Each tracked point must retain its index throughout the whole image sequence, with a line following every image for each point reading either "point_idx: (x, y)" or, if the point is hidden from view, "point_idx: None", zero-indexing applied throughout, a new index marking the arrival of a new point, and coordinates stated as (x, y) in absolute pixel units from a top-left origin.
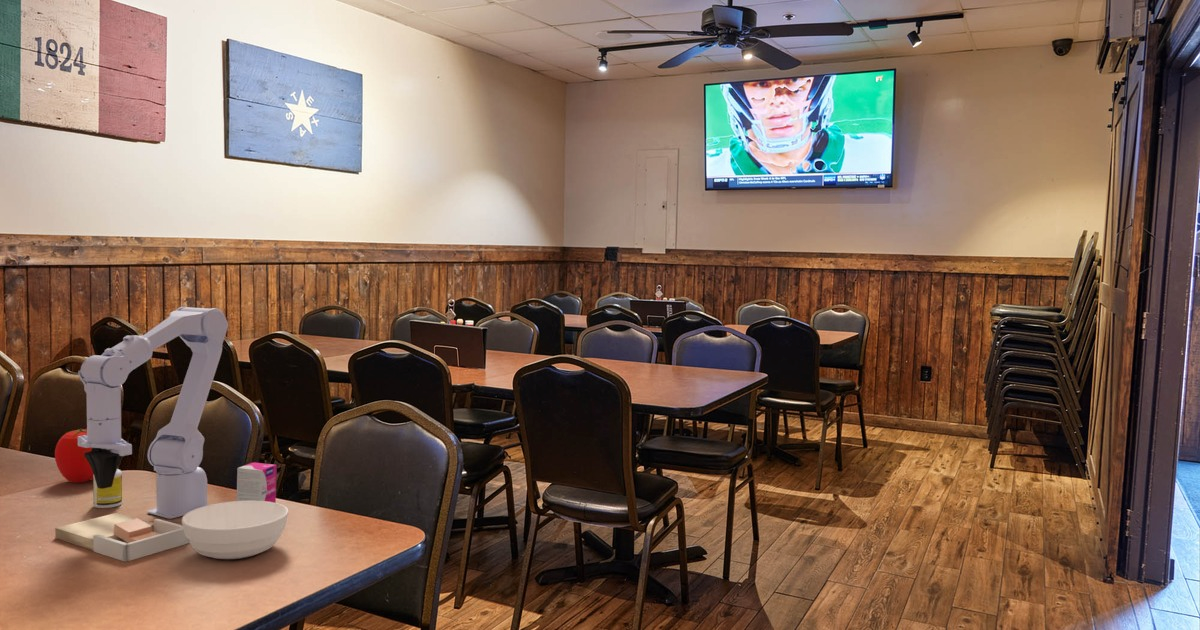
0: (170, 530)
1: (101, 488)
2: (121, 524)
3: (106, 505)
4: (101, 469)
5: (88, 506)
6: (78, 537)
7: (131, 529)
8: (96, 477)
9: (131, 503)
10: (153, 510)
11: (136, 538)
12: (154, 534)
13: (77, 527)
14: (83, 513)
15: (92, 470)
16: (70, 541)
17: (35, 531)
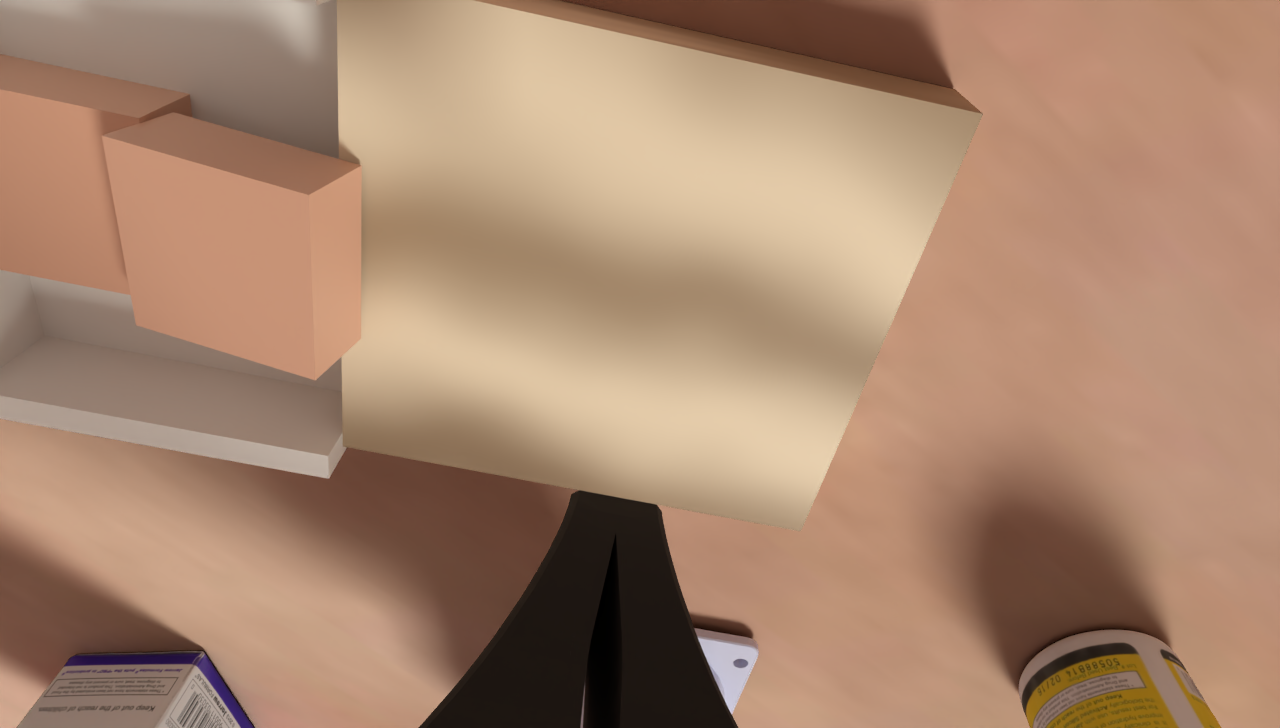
0: (150, 390)
1: (578, 492)
2: (269, 221)
3: (1066, 652)
4: (448, 695)
5: (1202, 636)
6: (611, 26)
7: (142, 191)
8: (630, 592)
9: (980, 719)
10: (725, 659)
11: (60, 128)
12: (63, 256)
13: (797, 194)
14: (1144, 545)
15: (710, 684)
16: (736, 43)
17: (1249, 161)
